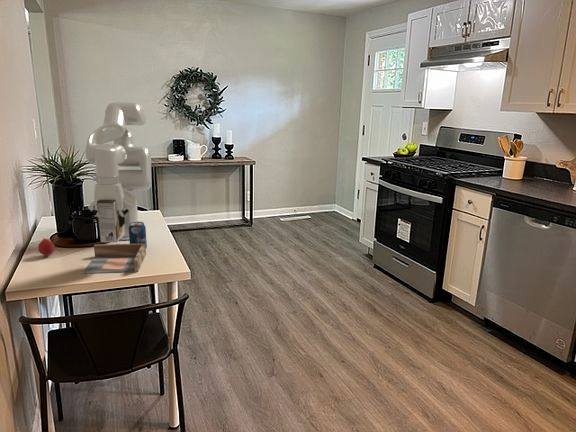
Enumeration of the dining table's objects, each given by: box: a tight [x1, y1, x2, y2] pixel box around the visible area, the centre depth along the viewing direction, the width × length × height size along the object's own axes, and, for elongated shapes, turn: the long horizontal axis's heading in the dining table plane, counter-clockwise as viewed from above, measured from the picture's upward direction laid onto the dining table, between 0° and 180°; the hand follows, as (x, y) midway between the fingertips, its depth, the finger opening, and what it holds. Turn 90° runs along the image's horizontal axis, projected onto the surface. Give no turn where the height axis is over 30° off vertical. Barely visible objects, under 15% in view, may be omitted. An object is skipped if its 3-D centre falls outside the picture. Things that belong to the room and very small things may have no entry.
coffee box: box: [97, 200, 125, 243], centre depth 162 cm, size 9×6×16 cm
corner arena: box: [81, 243, 147, 275], centre depth 168 cm, size 18×20×5 cm
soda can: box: [128, 221, 148, 249], centre depth 182 cm, size 7×7×12 cm
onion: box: [37, 237, 55, 258], centre depth 172 cm, size 6×6×8 cm
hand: (112, 225), depth 163 cm, fingers closed on coffee box, 6 cm apart
